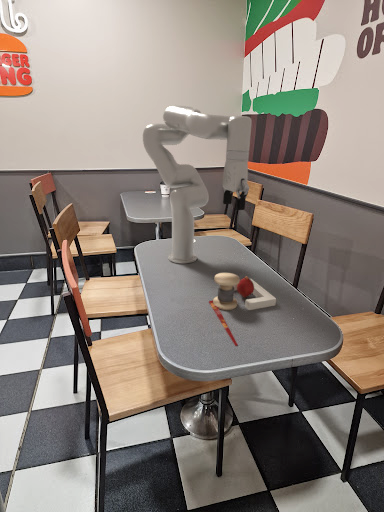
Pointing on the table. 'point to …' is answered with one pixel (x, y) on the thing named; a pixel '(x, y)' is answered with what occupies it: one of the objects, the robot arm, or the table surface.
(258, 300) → the notch board
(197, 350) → the table surface
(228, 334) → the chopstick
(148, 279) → the table surface
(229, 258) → the table surface
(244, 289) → the onion
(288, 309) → the table surface
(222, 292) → the spool
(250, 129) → the robot arm
